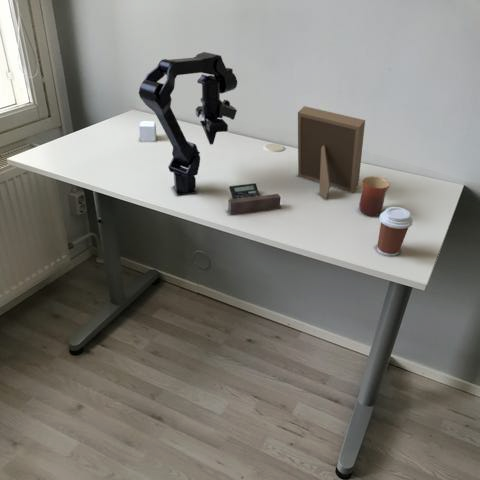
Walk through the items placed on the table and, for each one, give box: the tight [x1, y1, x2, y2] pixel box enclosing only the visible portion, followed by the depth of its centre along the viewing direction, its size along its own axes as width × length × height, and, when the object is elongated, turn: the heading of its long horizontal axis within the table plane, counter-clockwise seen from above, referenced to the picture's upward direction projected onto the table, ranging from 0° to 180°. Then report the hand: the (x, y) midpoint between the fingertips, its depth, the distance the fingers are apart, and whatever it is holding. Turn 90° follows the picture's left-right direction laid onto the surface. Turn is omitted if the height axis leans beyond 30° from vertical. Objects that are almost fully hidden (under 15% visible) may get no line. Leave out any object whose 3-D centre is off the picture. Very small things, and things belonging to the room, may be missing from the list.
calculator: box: [229, 182, 262, 199], centre depth 163 cm, size 9×12×3 cm
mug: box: [358, 175, 391, 217], centre depth 158 cm, size 12×9×10 cm
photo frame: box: [297, 105, 366, 199], centre depth 165 cm, size 15×22×25 cm
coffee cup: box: [376, 206, 414, 257], centre depth 139 cm, size 9×9×12 cm
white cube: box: [138, 120, 158, 142], centre depth 202 cm, size 6×6×6 cm
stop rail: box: [227, 193, 282, 216], centre depth 157 cm, size 17×2×4 cm, turn 109°
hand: (211, 144), depth 169 cm, fingers closed
